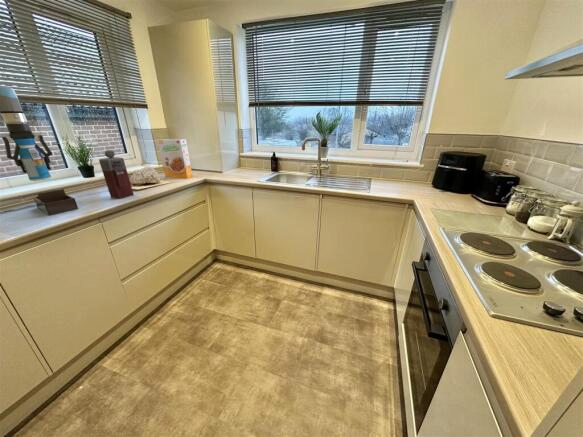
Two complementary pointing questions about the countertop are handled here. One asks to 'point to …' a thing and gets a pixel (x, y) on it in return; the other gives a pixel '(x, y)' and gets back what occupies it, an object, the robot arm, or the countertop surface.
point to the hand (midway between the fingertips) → (37, 171)
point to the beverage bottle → (32, 160)
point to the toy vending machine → (116, 176)
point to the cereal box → (175, 158)
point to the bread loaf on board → (146, 178)
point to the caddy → (55, 202)
